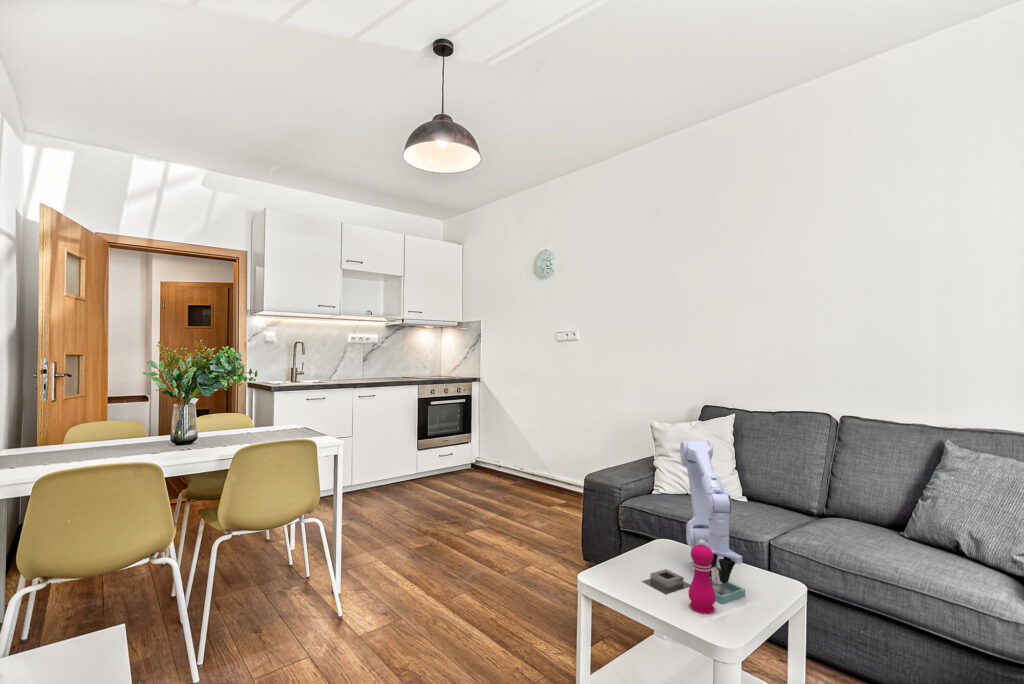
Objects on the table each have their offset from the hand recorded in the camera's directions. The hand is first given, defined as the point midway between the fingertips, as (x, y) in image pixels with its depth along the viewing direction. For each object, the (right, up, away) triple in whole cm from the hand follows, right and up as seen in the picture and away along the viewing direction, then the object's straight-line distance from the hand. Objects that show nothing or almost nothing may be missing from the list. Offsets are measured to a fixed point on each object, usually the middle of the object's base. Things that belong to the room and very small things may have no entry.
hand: (718, 579), depth 150 cm
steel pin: (0, -4, 0) cm, 4 cm away
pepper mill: (-9, -5, -10) cm, 14 cm away
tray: (0, -5, 0) cm, 5 cm away
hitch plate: (-14, -5, +6) cm, 16 cm away
